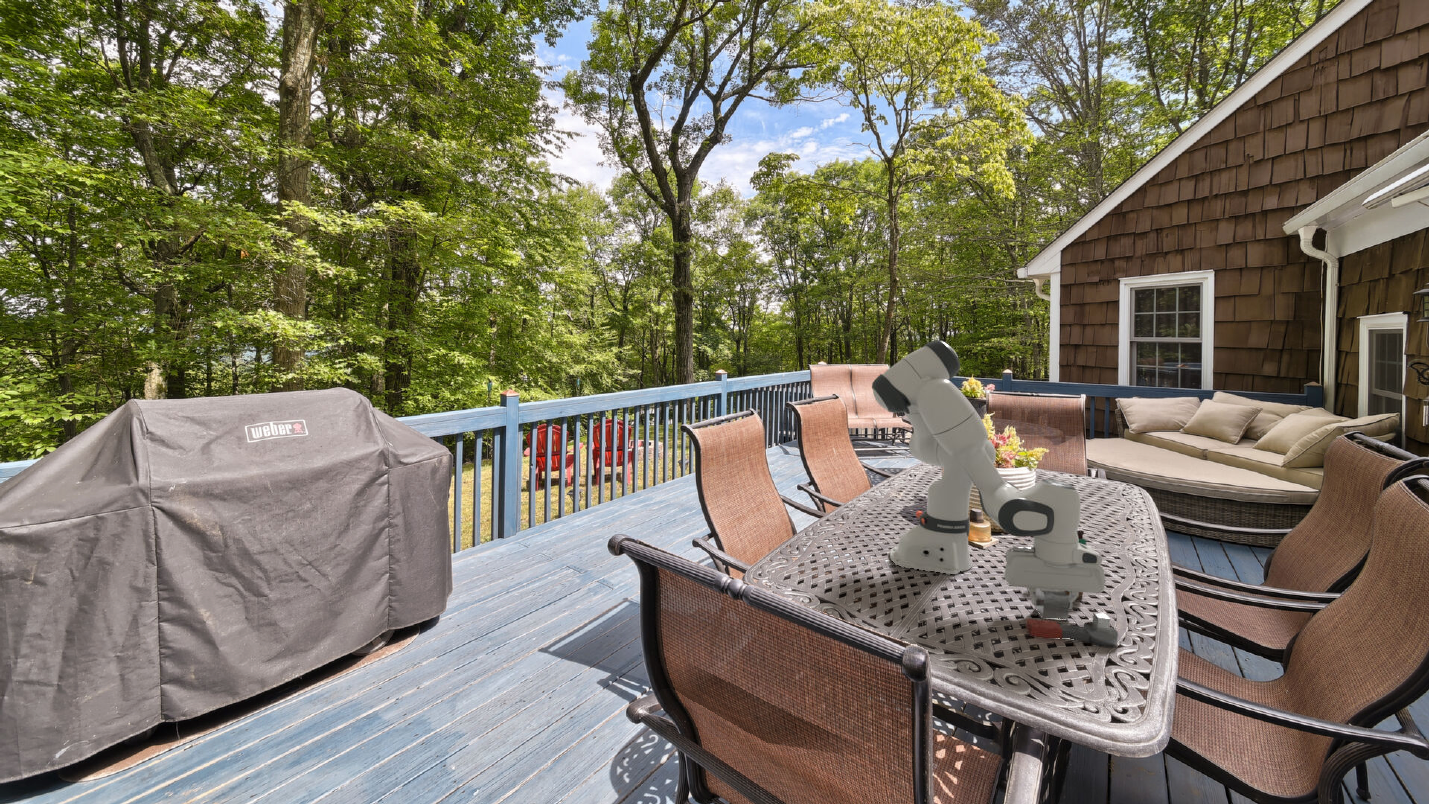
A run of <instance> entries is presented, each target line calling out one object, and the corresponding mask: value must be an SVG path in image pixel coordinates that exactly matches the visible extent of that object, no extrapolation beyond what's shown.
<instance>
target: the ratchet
mask: <svg viewBox="0 0 1429 804" xmlns="http://www.w3.org/2000/svg"><path fill="white" fill-rule="evenodd" d="M1092 615H1093V616H1092V621H1086V622H1084V624H1083V626H1082V625H1071V624H1062V623H1061V624H1060V623H1058V622H1057V620H1047V619H1033V618H1026V619H1025V630H1026V629H1027V630H1028V631H1027V630H1026V631H1027V633H1028V632H1029V633H1030V634H1029V633H1028V634H1029V636H1030V635H1031V636H1036V637H1035V638H1038V637H1043V638H1042V639H1048V638H1060V639H1062V638H1070V639H1074V640H1078V641H1077V642H1086V643H1090V644H1093V645H1095V646H1097V647H1102V648H1108V649H1109V648H1110V649H1112V648H1115V647H1117V645H1118V636H1119V632H1118V630H1116V629H1115V628H1114V627H1112V626H1110V625H1111V624H1110V623H1111V618H1110V617H1109V616H1108V615H1107V614H1106V613H1103V612H1102V613H1101V612H1093V614H1092ZM1031 636H1030V637H1031ZM1062 640H1063V639H1062ZM1074 640H1073V641H1074Z"/></svg>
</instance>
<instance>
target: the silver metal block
mask: <svg viewBox="0 0 1429 804" xmlns="http://www.w3.org/2000/svg"><path fill="white" fill-rule="evenodd" d="M1034 594H1035V596H1038V597H1039V598H1040V599H1041V603H1040V604H1041V605H1040V606H1034V610H1035V609H1037V611H1038V612H1039V613H1040V615H1041V616H1042V617H1041V616H1040V615H1039V616H1040V617H1041V618H1058V619H1059V618H1060V619H1066V620H1069V619H1068V618H1069V610H1070V609H1069V595H1068V594H1067V593H1066V592H1065V591H1063V590H1051V589H1039V588H1037V589H1036V592H1034ZM1037 611H1036V612H1037ZM1038 612H1037V613H1038Z"/></svg>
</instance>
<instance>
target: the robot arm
mask: <svg viewBox="0 0 1429 804" xmlns="http://www.w3.org/2000/svg"><path fill="white" fill-rule="evenodd" d="M960 366H961V362H960V359H959V357H958V354H957V352H956V351H955V349H954V348H952V346H950V345H949V344H947V343H946V342H945V341H943V340H938V339H936V340H932V341H930V342H927V343H925V344H924V346H922V347H920V348H918V349H916V350H914V351H912V352H910V353H909V354H907V355H905V356H904V357H902V358H901V360H899V361H897V362H896V363H895V364H893V365H892V366H891V367H890V368H888V369H887V370H886V371H885V372H884V373H880V374H879V375H878V376H877V377H876V378H875V379H874V380H873V382H872V383H871V384H872V385H871V389H872V393H873V397H874V399H875V401H876V403H878V405H879V406H880V407H881V408H882V409H884V410H886V411H887V412H890V413H893V414H901V413H904V414H905V416H906V418H907V419H908V421H909V423H910V425H911V426H912V430H913V433H912V434H911V436H910V438H909V442H908V448H909V452H910V454H911V456H912V457H913V458H914V459H917V460H919V461H920V462H922V463H924V464H928V465H932V466H935V467H939V468H943V472H942V473H943V474H942V477H941V479H938V480H937V481H936V480H935V481H934V482H933V483H931V484H930V485H929V486H928V488H927V500H926V501H927V502H926V512H925V511H924V513H923V511H922V510H917V511H916V512H915V516H916V518H917V519H918V522H919V524H917V525H916V526H914V527H912V528H910V529H909V530H906V531H905V532H904V533H902V534H901V536H900V538H899V540H898V544H897V546H894V547H892V548H891V549H890V552H889V558H890V560H891V562H892V561H893V562H894V563H895V564H894V563H893V562H892V563H893V564H894V565H896V566H897V565H899V566H901V567H900V568H904V567H905V568H904V569H910V568H914V569H913V570H917V569H919V571H923V570H925V572H930V571H935V572H934V573H936V572H940V573H939V574H943V573H946V574H945V575H950V574H955V575H957V574H959V573H961V572H966V571H968V570H971V568H972V567H973V564H972V560H971V556H970V549H969V547H970V546H969V536H970V535H969V534H970V532H971V531H970V530H971V529H970V528H971V523H970V522H971V521H970V517H969V508H970V507H969V506H970V497H971V491H972V488H973V486H974V485H975V486H976V488H977V491H978V497H979V503H980V506H981V510H982V511H983V513H984V514H985V515H986V516H987V517H988V518H989V519H991V520H992V521H993V522H994V523H995V524H996V525H998V527H1000V528H1001V529H1002V530H1003V531H1004V532H1005V533H1007V534H1009V535H1010V536H1013V537H1018V538H1019V537H1020V538H1021V537H1022V538H1025V537H1027V538H1028V537H1033V544H1032V547H1029V546H1027V547H1023V546H1022V547H1020V546H1012V548H1009V549H1008V550H1006V551H1005V552H1006V553H1005V562H1006V564H1005V569H1004V579H1005V581H1006V582H1007V583H1008V585H1010V586H1011V587H1016V588H1017V587H1018V588H1026V589H1027V591H1028V593H1029V594H1030V596H1031V598H1030V599H1031V600H1030V601H1031V604H1032V606H1034V607H1035V606H1040V605H1041V604H1040V603H1041V599H1040V598H1039V597H1038V596H1035V593H1036V589H1037V588H1039V589H1051V590H1063V591H1069V592H1070V594H1069V609H1068V610H1072V609H1073V603H1074V602H1075V601H1076V600H1077V599H1076V598H1077V597H1078V596H1079V592H1083V593H1090V594H1102V592H1103V591H1105V587H1106V580H1105V579H1106V577H1105V576H1106V575H1105V569H1104V568H1103V566H1102V565H1101V564H1102V563H1103V556H1102V555H1100V553H1099V552H1097V551H1096V550H1094V549H1093V548H1091V546H1088V545H1087V544H1086V545H1083V544H1080V543H1079V538H1078V534H1077V531H1078V529H1079V526H1080V524H1081V497H1080V493H1079V491H1078V490H1077V488H1075V487H1074V486H1072V485H1070V484H1069V483H1067V482H1064V481H1060V480H1055V479H1049V478H1046V479H1045V478H1044V479H1041V480H1040V481H1039V482H1038V483H1037V484H1035V485H1032V486H1031V487H1028V488H1026V489H1023V490H1020V489H1019V488H1018V487H1016V485H1014V484H1012V483H1011V482H1009V481H1008V480H1006V479H1004V478H1003V477H1002V475H1001V474H1000V472H999V471H998V469H997V467H996V466H995V465H994V464H995V462H996V458H997V451H996V448H995V446H994V443H993V442H992V441H991V440H989V439H988V437H989V433H988V431H987V428H986V426H985V424H984V421H983V419H982V418H981V416H980V415H979V413H978V412H977V410H976V408H975V407H974V406H973V404H971V402H970V401H969V399H968V398H967V397H966V395H964V393H963V392H962V391H961V390H960V389H959V388H958V386H956V385H955V384H954V383H953V382H952V381H950V380H951V379H953V378H955V376H956V375H957V374H958V373H959V372H960V368H961V367H960ZM899 566H898V567H899ZM960 571H961V572H960Z"/></svg>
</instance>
